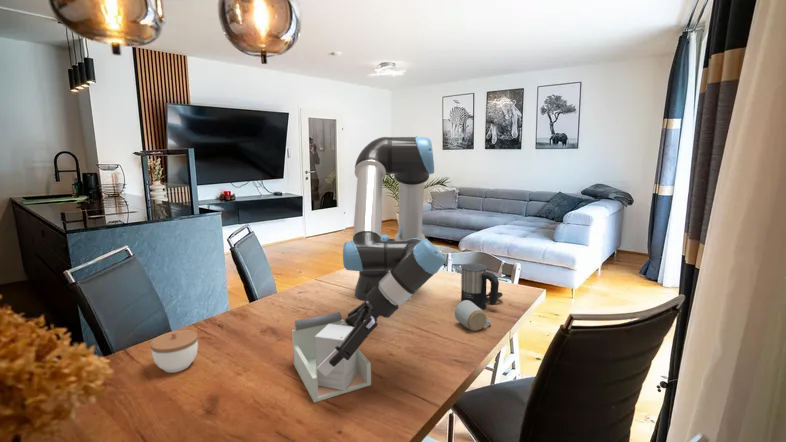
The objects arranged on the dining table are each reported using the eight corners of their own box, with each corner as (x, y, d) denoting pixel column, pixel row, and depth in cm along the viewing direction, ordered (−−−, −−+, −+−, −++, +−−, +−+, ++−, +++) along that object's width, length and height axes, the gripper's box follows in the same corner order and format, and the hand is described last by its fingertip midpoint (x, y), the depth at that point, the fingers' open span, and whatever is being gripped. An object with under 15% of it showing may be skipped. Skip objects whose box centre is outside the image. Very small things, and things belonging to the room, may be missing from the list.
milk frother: (457, 308, 139) (458, 268, 137) (466, 294, 153) (467, 257, 151) (498, 314, 134) (499, 272, 131) (503, 298, 148) (505, 261, 146)
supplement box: (357, 374, 96) (356, 326, 94) (344, 391, 89) (343, 340, 87) (330, 369, 99) (328, 322, 96) (315, 386, 92) (313, 335, 89)
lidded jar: (168, 382, 95) (163, 346, 93) (145, 370, 101) (141, 336, 99) (208, 362, 104) (205, 329, 102) (185, 352, 110) (182, 320, 108)
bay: (293, 363, 103) (290, 320, 101) (343, 350, 110) (341, 309, 108) (314, 402, 87) (311, 351, 85) (371, 384, 93) (370, 337, 91)
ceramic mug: (467, 334, 119) (468, 310, 118) (453, 323, 127) (454, 301, 125) (496, 328, 123) (497, 305, 122) (481, 318, 131) (482, 297, 129)
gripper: (402, 329, 79) (330, 398, 81) (398, 287, 103) (343, 341, 106) (375, 304, 78) (303, 375, 80) (378, 268, 102) (322, 323, 105)
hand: (326, 356), depth 93 cm, fingers open, 13 cm apart
